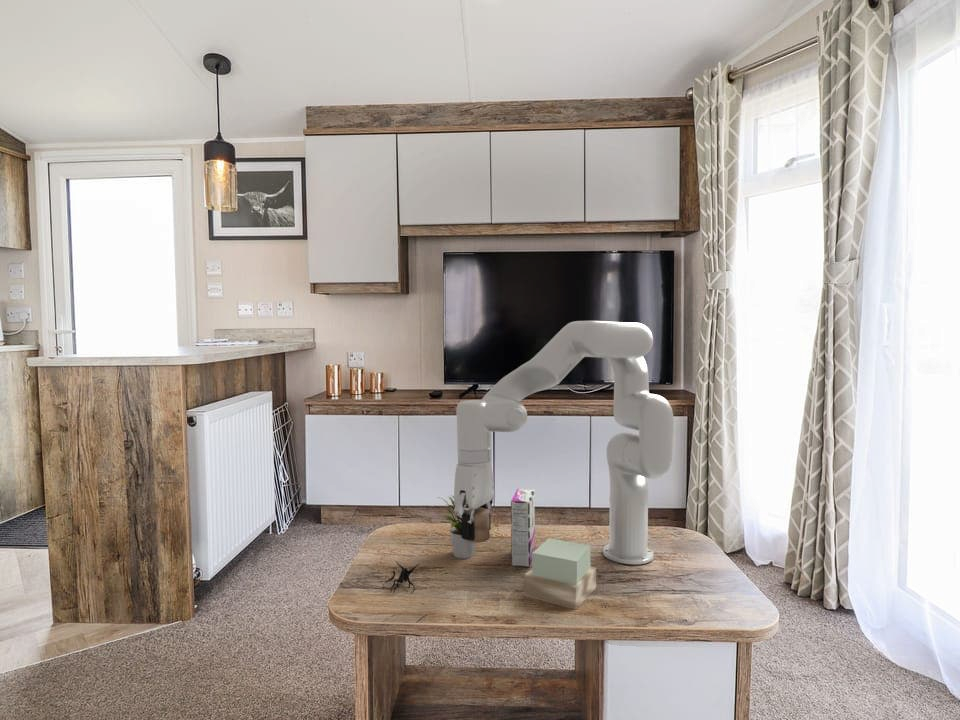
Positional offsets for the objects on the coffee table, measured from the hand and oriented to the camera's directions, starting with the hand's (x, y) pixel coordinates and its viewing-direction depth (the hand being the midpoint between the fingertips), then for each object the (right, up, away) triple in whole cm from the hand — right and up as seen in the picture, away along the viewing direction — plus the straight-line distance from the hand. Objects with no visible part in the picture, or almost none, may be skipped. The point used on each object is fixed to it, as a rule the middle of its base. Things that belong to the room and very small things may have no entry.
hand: (476, 533), depth 130 cm
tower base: (+19, -12, -2) cm, 23 cm away
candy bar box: (+12, -11, +16) cm, 23 cm away
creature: (-17, -12, -1) cm, 21 cm away
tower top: (+19, -7, -3) cm, 21 cm away
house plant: (-5, -11, +18) cm, 22 cm away
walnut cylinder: (0, -1, 0) cm, 1 cm away
